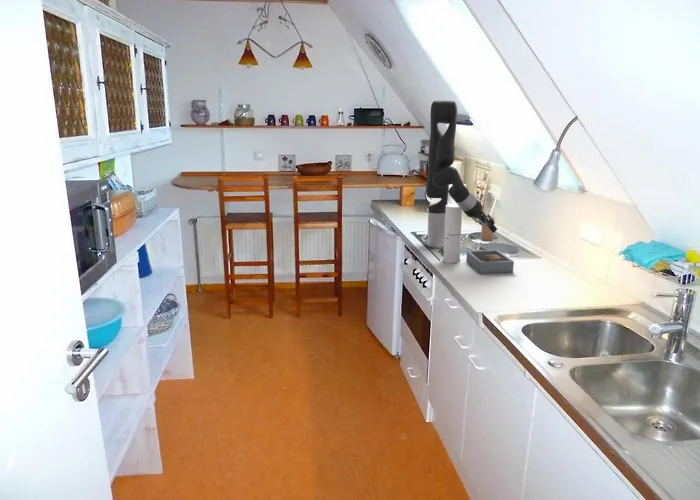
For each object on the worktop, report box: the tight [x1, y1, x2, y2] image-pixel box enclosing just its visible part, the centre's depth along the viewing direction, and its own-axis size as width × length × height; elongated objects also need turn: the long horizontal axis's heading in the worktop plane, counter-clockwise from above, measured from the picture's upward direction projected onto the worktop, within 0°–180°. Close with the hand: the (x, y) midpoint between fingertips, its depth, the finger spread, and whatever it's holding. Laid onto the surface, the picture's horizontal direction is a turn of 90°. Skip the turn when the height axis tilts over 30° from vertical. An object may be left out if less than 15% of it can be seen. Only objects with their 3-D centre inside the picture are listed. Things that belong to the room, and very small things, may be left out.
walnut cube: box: [485, 255, 501, 262], centre depth 207 cm, size 5×5×5 cm
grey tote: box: [465, 249, 515, 275], centre depth 212 cm, size 18×14×5 cm
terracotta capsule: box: [480, 216, 495, 243], centre depth 212 cm, size 5×5×10 cm
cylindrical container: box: [443, 203, 463, 264], centre depth 219 cm, size 7×7×25 cm
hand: (491, 229), depth 213 cm, fingers closed on terracotta capsule, 5 cm apart
